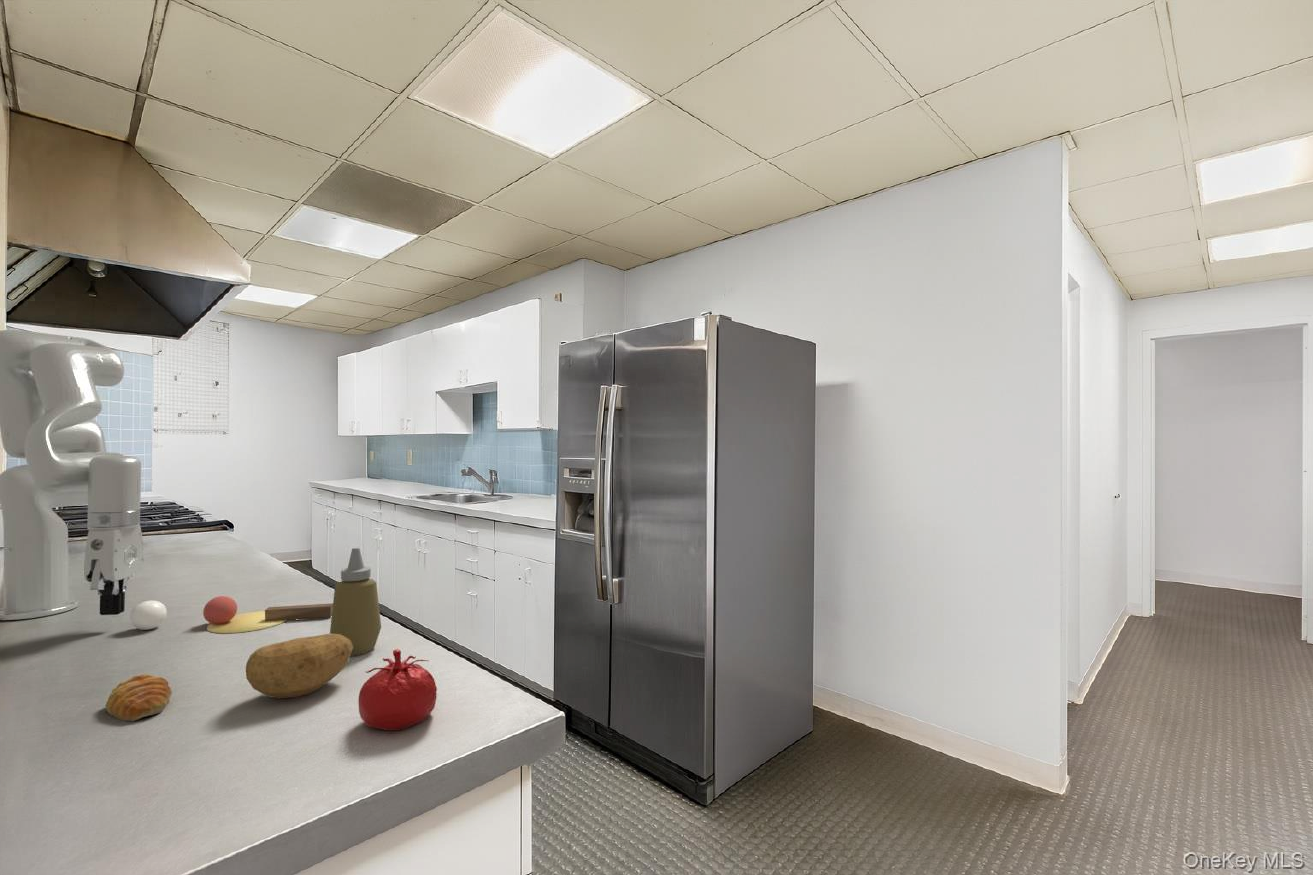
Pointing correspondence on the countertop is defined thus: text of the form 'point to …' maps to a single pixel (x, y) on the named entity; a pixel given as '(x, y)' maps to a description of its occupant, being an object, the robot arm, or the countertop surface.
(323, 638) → the potato
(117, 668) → the countertop surface
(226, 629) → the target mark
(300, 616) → the rail
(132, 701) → the pastry
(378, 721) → the red tomato
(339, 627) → the squeeze bottle
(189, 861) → the countertop surface
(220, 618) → the object ball
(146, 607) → the white egg
